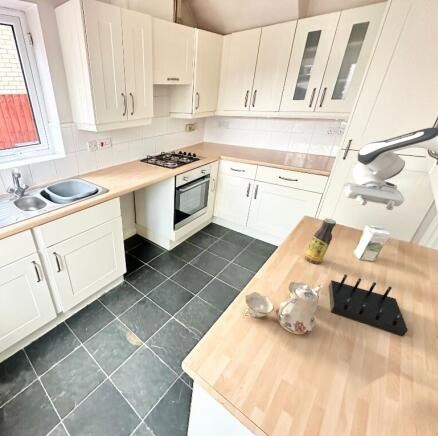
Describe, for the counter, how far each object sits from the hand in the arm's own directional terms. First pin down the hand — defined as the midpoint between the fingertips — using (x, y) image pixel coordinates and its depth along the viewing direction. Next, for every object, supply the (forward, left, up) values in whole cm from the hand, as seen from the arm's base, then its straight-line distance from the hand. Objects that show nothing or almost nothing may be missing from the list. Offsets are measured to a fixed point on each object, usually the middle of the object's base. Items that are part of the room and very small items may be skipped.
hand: (377, 206), depth 102 cm
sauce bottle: (+18, +20, -21) cm, 34 cm away
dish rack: (+4, +42, -21) cm, 48 cm away
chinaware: (+26, +58, -21) cm, 67 cm away
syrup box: (-1, +7, -21) cm, 23 cm away
